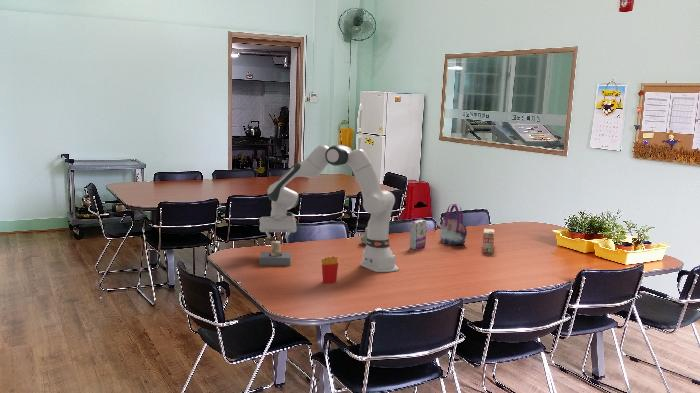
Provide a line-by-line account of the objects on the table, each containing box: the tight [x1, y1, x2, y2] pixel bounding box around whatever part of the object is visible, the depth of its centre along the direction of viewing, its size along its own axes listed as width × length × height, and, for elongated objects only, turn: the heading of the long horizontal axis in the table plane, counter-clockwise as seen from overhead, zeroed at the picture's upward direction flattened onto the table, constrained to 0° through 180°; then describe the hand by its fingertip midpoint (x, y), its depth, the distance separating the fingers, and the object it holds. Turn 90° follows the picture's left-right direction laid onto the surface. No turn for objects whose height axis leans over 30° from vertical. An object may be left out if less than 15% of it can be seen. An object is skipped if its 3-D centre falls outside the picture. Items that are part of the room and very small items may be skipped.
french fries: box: [321, 256, 339, 284], centre depth 277 cm, size 8×4×12 cm, turn 124°
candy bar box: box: [409, 219, 427, 250], centre depth 354 cm, size 11×5×16 cm, turn 143°
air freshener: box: [360, 226, 368, 246], centre depth 359 cm, size 11×8×10 cm
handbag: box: [439, 203, 468, 246], centre depth 369 cm, size 21×10×25 cm, turn 37°
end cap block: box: [258, 251, 292, 267], centre depth 309 cm, size 16×12×4 cm
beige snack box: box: [481, 228, 495, 254], centre depth 358 cm, size 21×6×12 cm, turn 166°
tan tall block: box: [270, 240, 281, 256], centre depth 308 cm, size 4×4×10 cm
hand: (277, 237), depth 320 cm, fingers open, 8 cm apart
